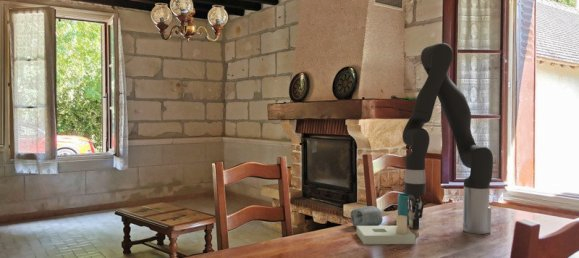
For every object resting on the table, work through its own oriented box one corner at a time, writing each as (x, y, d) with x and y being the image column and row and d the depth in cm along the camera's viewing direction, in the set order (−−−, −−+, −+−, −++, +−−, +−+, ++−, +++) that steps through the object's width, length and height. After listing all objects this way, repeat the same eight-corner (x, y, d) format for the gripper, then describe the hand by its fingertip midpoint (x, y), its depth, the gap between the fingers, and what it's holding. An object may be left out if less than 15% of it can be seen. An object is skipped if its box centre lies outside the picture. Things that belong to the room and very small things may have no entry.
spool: (358, 223, 178) (358, 198, 182) (345, 229, 185) (345, 205, 190) (388, 229, 182) (387, 205, 187) (374, 235, 190) (373, 211, 195)
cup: (428, 220, 198) (428, 194, 197) (411, 224, 190) (411, 197, 190) (410, 216, 205) (410, 191, 204) (393, 220, 197) (393, 194, 197)
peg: (417, 234, 175) (417, 210, 175) (420, 236, 171) (420, 212, 171) (407, 234, 175) (408, 210, 174) (410, 236, 171) (411, 212, 171)
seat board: (403, 233, 176) (404, 209, 176) (415, 243, 162) (415, 218, 162) (356, 233, 175) (356, 210, 175) (364, 244, 161) (364, 218, 161)
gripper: (431, 184, 166) (430, 232, 166) (418, 178, 180) (418, 222, 180) (410, 184, 165) (409, 232, 166) (399, 178, 179) (398, 222, 180)
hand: (414, 227), depth 173 cm, fingers closed on peg, 3 cm apart
